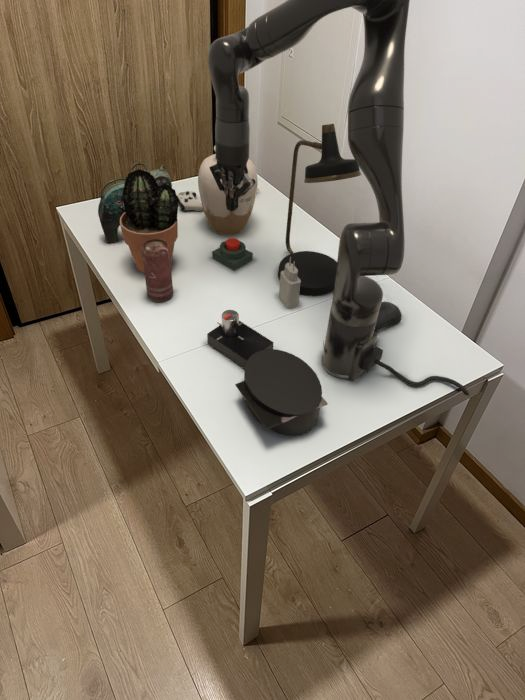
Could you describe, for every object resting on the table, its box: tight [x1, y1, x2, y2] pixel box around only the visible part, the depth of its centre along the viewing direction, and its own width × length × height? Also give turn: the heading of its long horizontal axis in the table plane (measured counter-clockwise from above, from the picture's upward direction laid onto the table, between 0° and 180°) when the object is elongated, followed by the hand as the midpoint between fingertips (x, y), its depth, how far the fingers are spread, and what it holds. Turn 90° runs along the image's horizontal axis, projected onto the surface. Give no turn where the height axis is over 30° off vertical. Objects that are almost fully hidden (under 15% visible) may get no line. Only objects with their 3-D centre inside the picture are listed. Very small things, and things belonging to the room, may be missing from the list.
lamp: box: [277, 123, 362, 297], centre depth 123 cm, size 16×22×38 cm
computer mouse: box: [374, 301, 402, 345], centre depth 122 cm, size 10×15×4 cm
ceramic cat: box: [97, 162, 173, 244], centre depth 139 cm, size 20×6×20 cm, turn 115°
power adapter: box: [278, 257, 301, 309], centre depth 124 cm, size 3×5×12 cm, turn 24°
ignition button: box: [225, 237, 241, 251], centre depth 136 cm, size 4×4×2 cm
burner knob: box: [221, 309, 240, 337], centre depth 113 cm, size 4×4×5 cm
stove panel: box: [206, 320, 274, 370], centre depth 115 cm, size 13×8×3 cm, turn 48°
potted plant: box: [119, 168, 179, 273], centre depth 128 cm, size 14×14×25 cm
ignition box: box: [211, 239, 254, 272], centre depth 138 cm, size 8×7×4 cm
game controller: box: [176, 190, 204, 212], centre depth 158 cm, size 10×5×6 cm
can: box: [142, 239, 174, 303], centre depth 123 cm, size 6×6×14 cm
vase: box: [197, 145, 258, 236], centre depth 143 cm, size 16×16×23 cm
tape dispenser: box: [234, 348, 329, 437], centre depth 103 cm, size 14×18×8 cm
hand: (231, 209), depth 129 cm, fingers closed
